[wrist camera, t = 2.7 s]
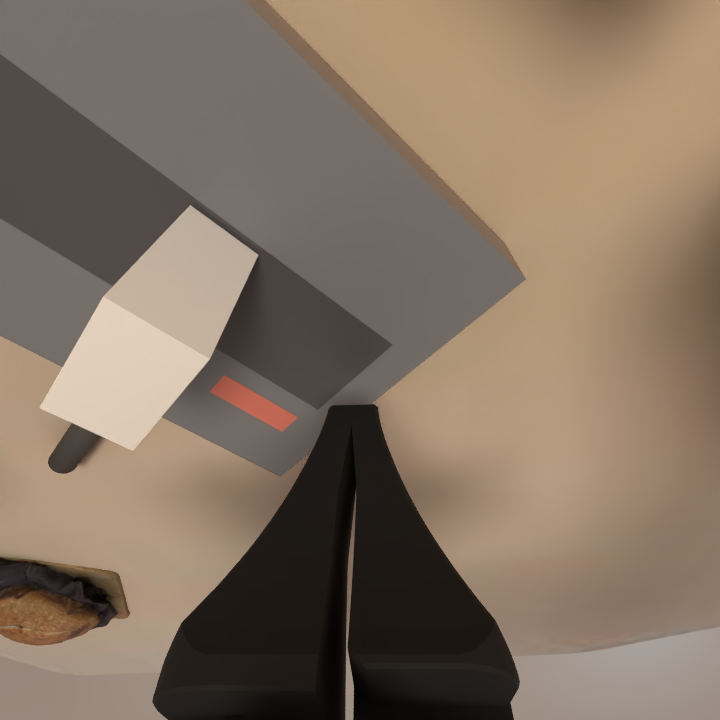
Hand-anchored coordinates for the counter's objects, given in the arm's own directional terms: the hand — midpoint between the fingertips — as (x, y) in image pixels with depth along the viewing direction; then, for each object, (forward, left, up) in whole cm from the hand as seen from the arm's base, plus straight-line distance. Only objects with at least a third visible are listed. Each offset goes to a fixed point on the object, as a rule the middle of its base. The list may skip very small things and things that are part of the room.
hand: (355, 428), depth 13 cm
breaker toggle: (+6, 0, -2) cm, 6 cm away
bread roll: (+2, +30, -5) cm, 31 cm away
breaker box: (+6, 0, -5) cm, 8 cm away
